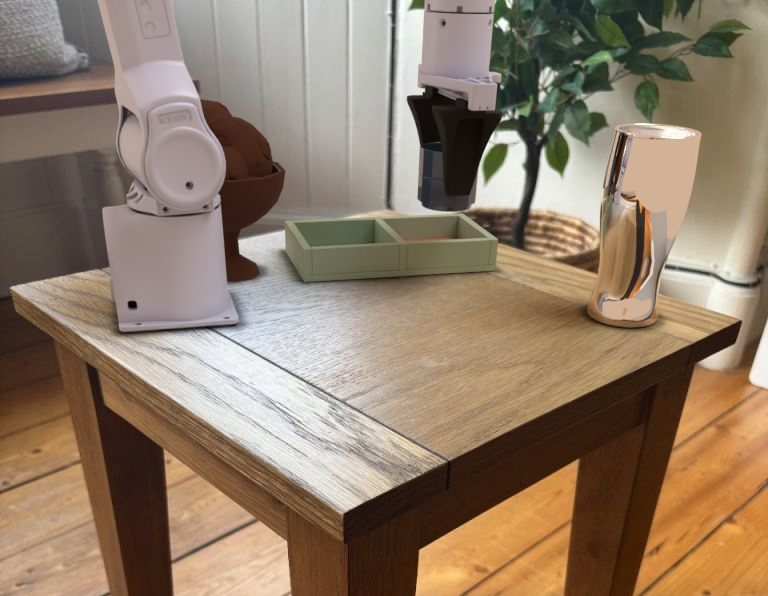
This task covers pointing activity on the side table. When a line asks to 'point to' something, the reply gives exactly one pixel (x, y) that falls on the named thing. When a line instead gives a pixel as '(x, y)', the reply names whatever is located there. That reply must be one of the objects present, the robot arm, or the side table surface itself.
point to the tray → (388, 246)
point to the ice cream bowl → (242, 182)
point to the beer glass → (641, 218)
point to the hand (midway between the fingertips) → (447, 187)
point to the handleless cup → (439, 182)
